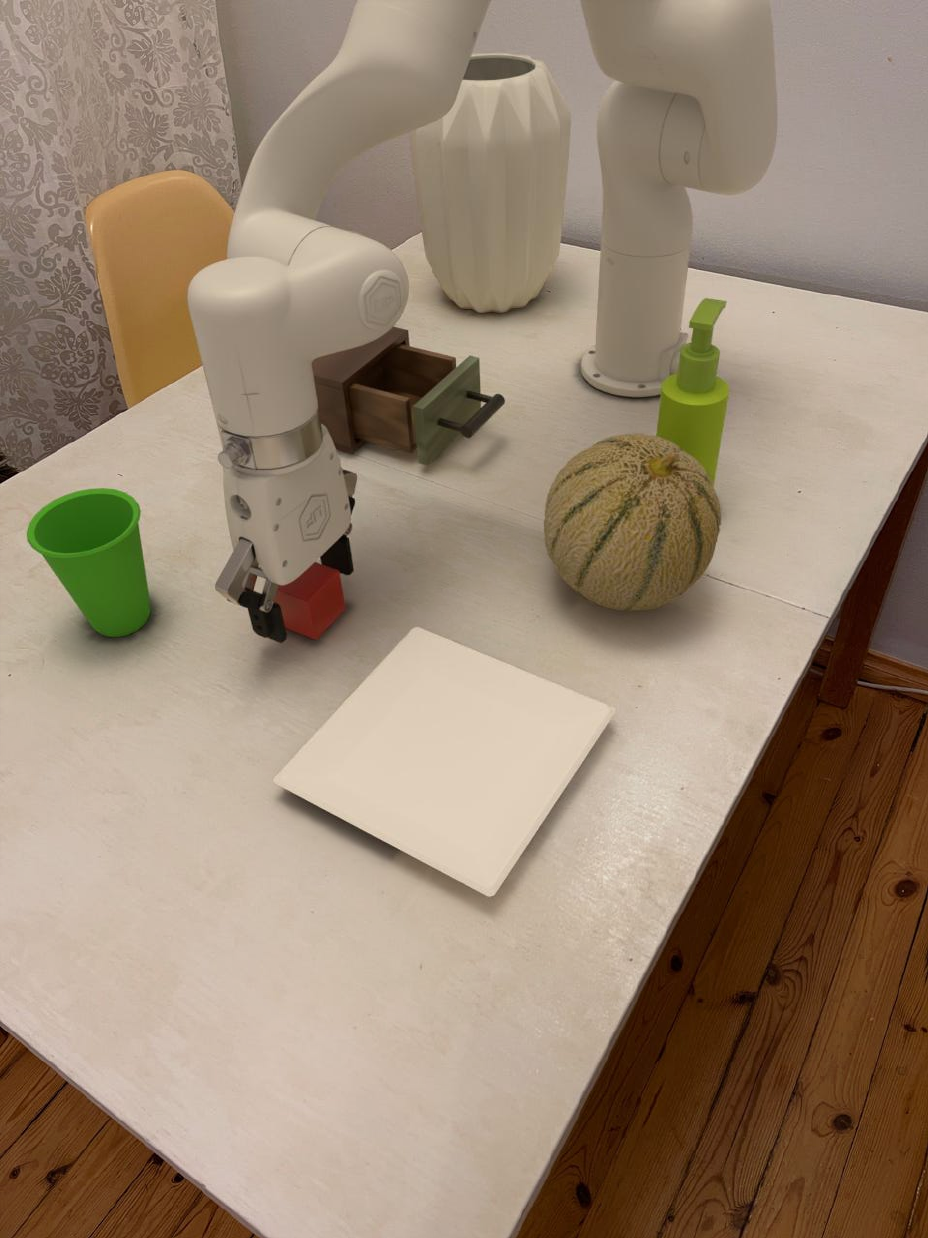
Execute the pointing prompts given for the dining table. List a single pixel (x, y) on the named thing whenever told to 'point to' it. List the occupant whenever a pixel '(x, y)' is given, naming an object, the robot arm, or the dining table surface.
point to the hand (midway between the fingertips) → (305, 601)
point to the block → (312, 600)
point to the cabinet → (341, 372)
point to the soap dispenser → (696, 393)
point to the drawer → (419, 402)
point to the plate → (449, 756)
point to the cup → (96, 556)
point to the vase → (494, 183)
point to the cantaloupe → (632, 522)
